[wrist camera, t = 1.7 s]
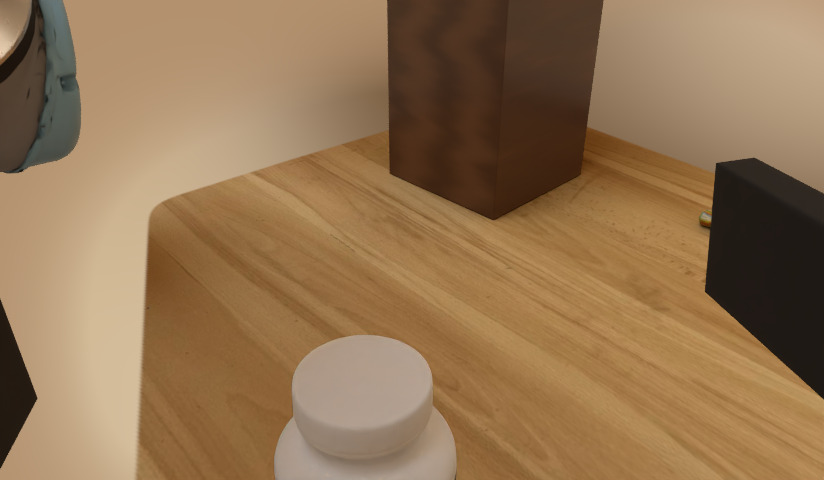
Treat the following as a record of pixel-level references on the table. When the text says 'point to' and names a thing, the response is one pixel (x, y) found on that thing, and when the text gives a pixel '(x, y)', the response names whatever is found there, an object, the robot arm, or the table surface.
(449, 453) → the pill bottle
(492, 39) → the tall brown block
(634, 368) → the table surface
